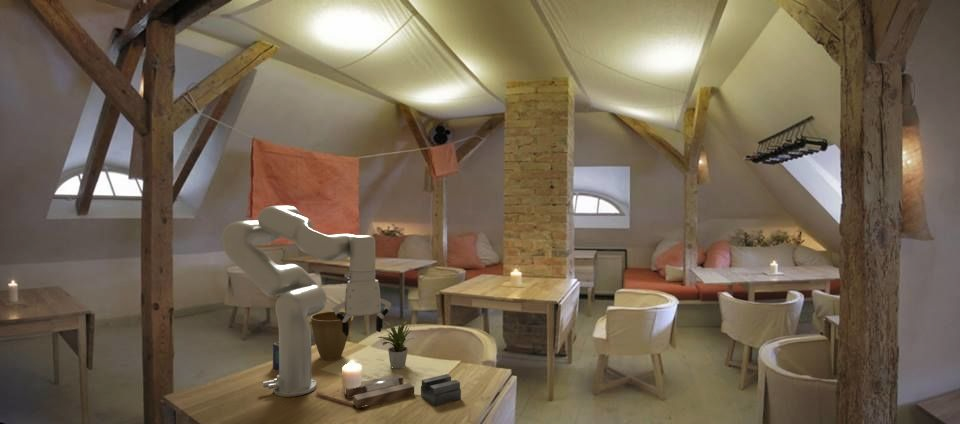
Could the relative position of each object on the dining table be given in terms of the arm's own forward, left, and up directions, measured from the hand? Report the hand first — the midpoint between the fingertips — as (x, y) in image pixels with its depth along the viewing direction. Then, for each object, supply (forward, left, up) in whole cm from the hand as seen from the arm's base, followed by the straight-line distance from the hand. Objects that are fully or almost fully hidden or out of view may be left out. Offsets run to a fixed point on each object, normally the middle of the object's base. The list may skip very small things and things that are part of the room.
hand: (362, 332), depth 139 cm
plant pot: (+2, +42, -20) cm, 47 cm away
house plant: (+20, +21, -20) cm, 36 cm away
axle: (+6, 0, -20) cm, 21 cm away
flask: (-16, +38, -20) cm, 46 cm away
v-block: (+20, -12, -20) cm, 31 cm away
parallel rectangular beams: (+5, 0, -20) cm, 21 cm away
